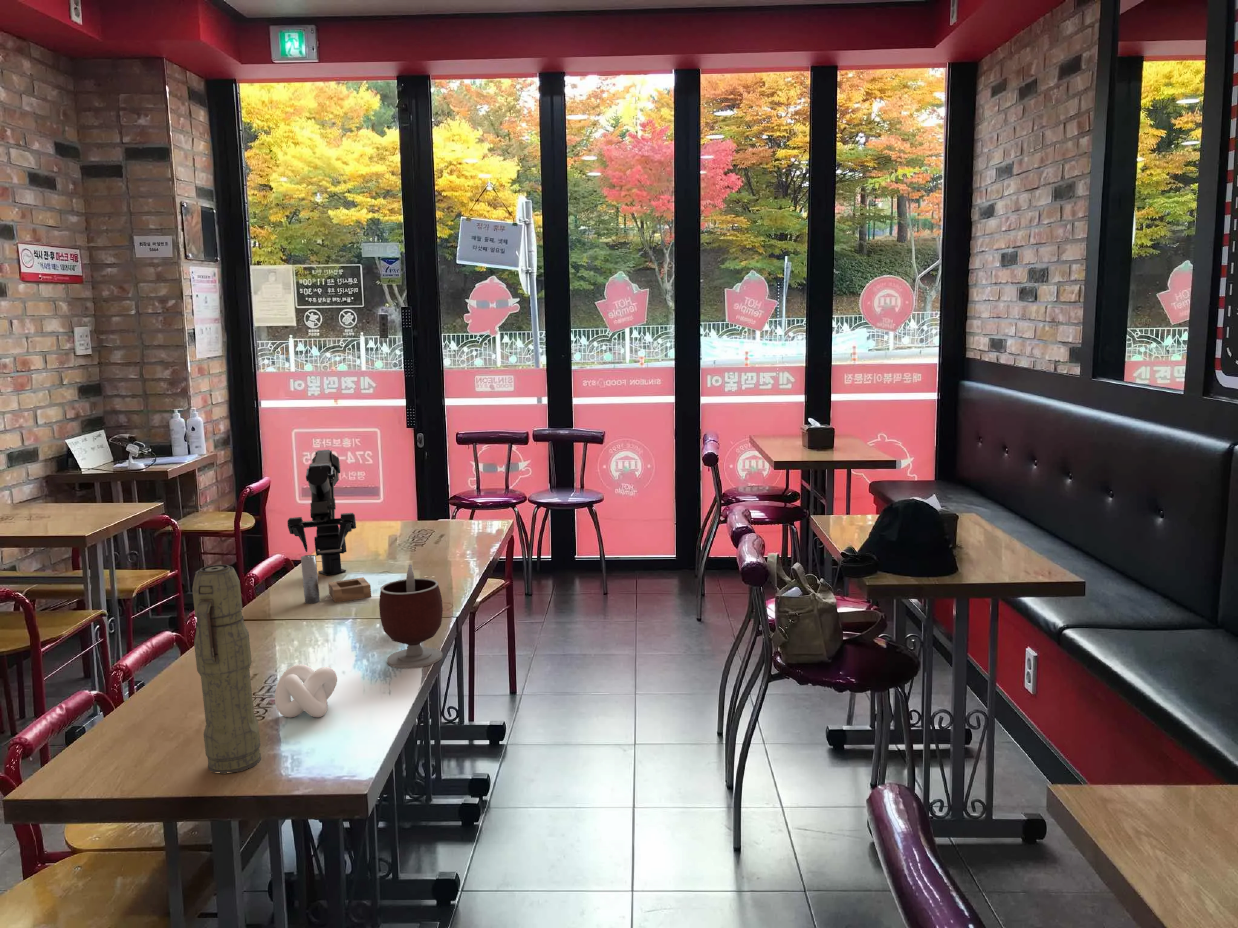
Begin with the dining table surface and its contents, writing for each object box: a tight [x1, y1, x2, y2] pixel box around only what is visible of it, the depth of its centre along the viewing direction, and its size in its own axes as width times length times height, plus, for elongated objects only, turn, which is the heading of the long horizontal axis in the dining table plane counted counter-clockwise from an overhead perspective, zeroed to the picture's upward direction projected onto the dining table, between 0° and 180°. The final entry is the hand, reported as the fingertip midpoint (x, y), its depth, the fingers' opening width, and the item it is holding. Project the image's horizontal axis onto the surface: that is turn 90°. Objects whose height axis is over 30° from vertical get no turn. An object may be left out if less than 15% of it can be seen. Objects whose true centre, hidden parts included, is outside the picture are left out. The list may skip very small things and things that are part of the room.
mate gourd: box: [378, 563, 444, 669], centre depth 220 cm, size 16×14×20 cm
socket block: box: [327, 577, 372, 603], centre depth 277 cm, size 10×10×4 cm
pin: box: [300, 554, 321, 605], centre depth 272 cm, size 4×4×13 cm
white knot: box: [274, 663, 338, 718], centre depth 190 cm, size 11×12×9 cm
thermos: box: [191, 564, 262, 773], centre depth 167 cm, size 9×12×35 cm
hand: (323, 549), depth 279 cm, fingers open, 9 cm apart
